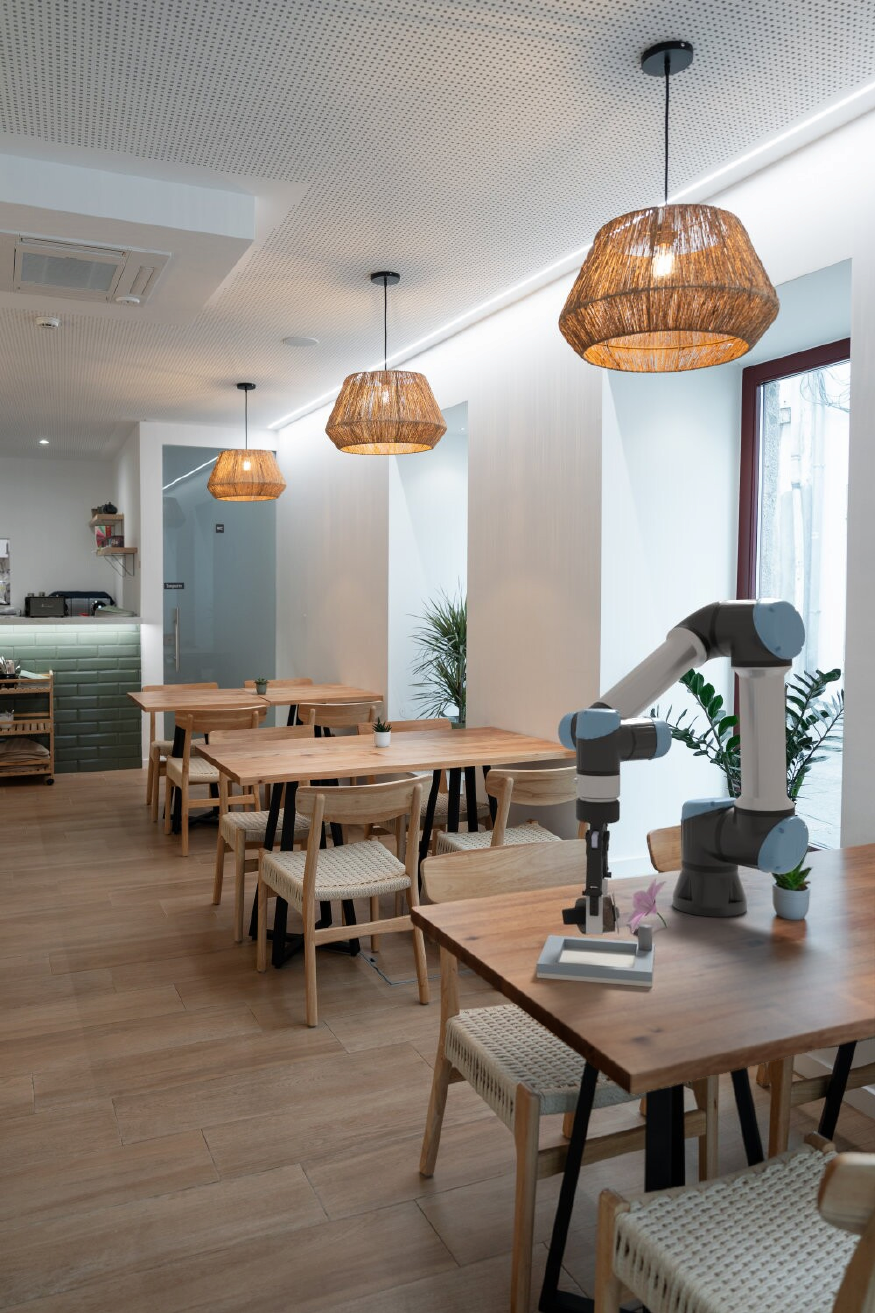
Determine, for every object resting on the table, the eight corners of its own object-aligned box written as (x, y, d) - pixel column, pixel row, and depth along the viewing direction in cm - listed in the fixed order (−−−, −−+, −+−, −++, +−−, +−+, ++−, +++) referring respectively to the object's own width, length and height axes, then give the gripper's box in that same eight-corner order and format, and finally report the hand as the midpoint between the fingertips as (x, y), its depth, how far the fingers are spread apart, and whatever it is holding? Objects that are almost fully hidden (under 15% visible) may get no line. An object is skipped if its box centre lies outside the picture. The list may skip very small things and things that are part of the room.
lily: (636, 920, 203) (615, 882, 202) (690, 904, 198) (669, 865, 197) (629, 955, 192) (607, 915, 191) (686, 940, 188) (663, 898, 186)
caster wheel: (566, 934, 177) (622, 929, 176) (562, 940, 166) (621, 934, 165) (561, 896, 179) (617, 890, 177) (556, 899, 168) (615, 893, 166)
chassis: (654, 956, 177) (654, 920, 177) (652, 987, 162) (652, 948, 162) (548, 948, 182) (549, 913, 182) (536, 977, 166) (536, 939, 166)
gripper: (582, 787, 184) (581, 905, 184) (568, 808, 161) (568, 942, 161) (623, 789, 182) (622, 907, 182) (615, 810, 159) (614, 946, 159)
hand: (597, 924), depth 172 cm, fingers closed on caster wheel, 11 cm apart
